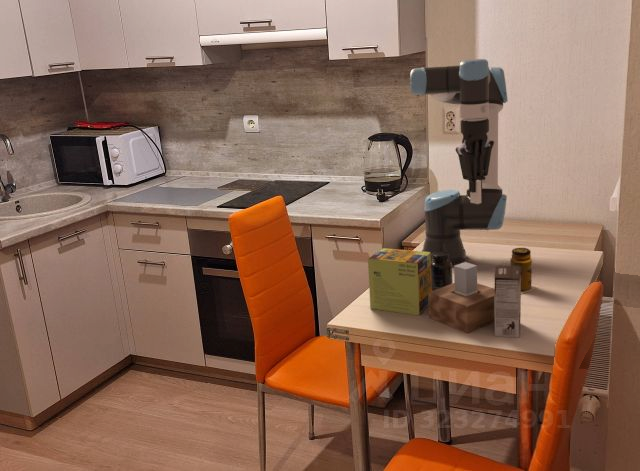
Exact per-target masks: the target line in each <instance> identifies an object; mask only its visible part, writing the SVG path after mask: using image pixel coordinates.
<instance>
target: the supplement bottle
mask: <svg viewBox="0 0 640 471" xmlns="http://www.w3.org/2000/svg"><path fill="white" fill-rule="evenodd" d="M448 259H449V257H448V253H447V252H445V251H436V252H433V253H432V260H433V261H432V262H431V285H432V291H434V290H436V289H439V288H442V287H445V286H447V285H450V284H453V283H454V279H453V278H454V277H453V264H451V262H450V261H448Z"/></svg>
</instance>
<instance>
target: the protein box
mask: <svg viewBox="0 0 640 471" xmlns="http://www.w3.org/2000/svg"><path fill="white" fill-rule="evenodd" d="M430 253H431V252H422V250H420V251H419V250H412V249H411V250H408V249H395V248H384V247H383V248H381V249H380V250H378V251H377V252H376V253H374V254H372V255H371V256H369V258H368V259H367V268H368V286H369V287H368V288H369V289H368V290H369V302H370V303H369V307H370V308H369V309H371V310H378V311H385V312H390V313H391V312H392V313H398V314H406V315H413V316H420V315H421V314H423V312H424V311H425V310H426V309H427V308H429V292H431V291H432V285H431V255H430Z"/></svg>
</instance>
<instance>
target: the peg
mask: <svg viewBox="0 0 640 471" xmlns="http://www.w3.org/2000/svg"><path fill="white" fill-rule="evenodd" d="M453 269H454V272H453V273H454V277H453V278H454V279H453V282H454V283H455V294H456V295H459V296H462V297H465V298H468V297H470V296H473V295H475V294H477V283H478V265H476V264H473V263H470V262H466V261H463V262H460V263H457V264H454V266H453Z"/></svg>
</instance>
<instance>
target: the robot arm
mask: <svg viewBox="0 0 640 471" xmlns="http://www.w3.org/2000/svg"><path fill="white" fill-rule="evenodd" d="M505 77H506V76H505V71H504V69H503V68H502V67H499V66H498V67H490V66H489V62H488V60H487V59H483V58H479V59H478V58H475V59H474V58H472V59H465V60H461V62H460V63H459V64H458V65H448V66H431V67H417V68H413V69H411V71H410V75H409V86H410V92H411V94H412V95H414V96H424V95H426V96H427V95H429V96H431V97H432V98H433V99H434V100H435V101H438V102H442V103H446V104H450V105H459V107H460V108H459V111H460V112H459V114H460V116H459V117H460V119H461V120H460V133H461V135H462V141H461V145H460V146H456V148H455V152H456V154H457V155H458V160H459V161H458V162H459V165H460V170H461V175H462V179H463V180H466V181H468V187H467V189H466V194H465V195H463V194H461V193H460V191H459V190H457V189H447V190H441V191H439V190H438V191H436V192H435V191H434V192H433V193H430V194H429V195H427V196H426V197H425V199H424V209H423V211H424V217H425V218H424V219H425V220H424V224H425V225H424V226H425V227H424V228H425V239H424V243H423V247H422V250H421V251H422V252H431V253H430V255H431V262H432V261H433V260H432V253H433V252H436V251H445V252H447V253H448V257H449V259H448V261H450V262H451V264H452V265H458V264H461V263H464V262H465V260H466V258H467V252H466V249H465V248H464V244H463V241H462V238H461V231H462V230H464V231H493V230H495V231H497V230H500V229H501V228H503V226H504V221H505V215H506V206H507V200H508V196H507V194H505V193H503V188H502V187H501V186H500V185H499V183H498V182H499V180H498V178H499V113H500V112H501V111H502V110H503V109H504V104H505V103H508V92H507V84H506V83H507V82H506V78H505Z"/></svg>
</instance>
